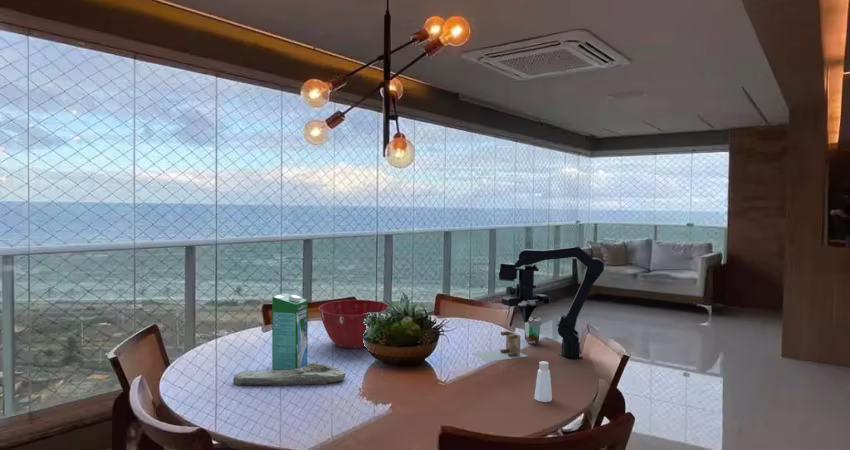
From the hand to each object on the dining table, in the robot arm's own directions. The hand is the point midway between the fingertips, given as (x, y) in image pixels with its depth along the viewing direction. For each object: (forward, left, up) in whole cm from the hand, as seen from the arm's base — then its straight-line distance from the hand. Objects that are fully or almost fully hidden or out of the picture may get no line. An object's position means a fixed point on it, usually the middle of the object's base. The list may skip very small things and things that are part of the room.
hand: (525, 322), depth 206 cm
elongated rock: (+2, +89, -13) cm, 90 cm away
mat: (0, +11, -12) cm, 16 cm away
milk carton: (+18, +86, -12) cm, 89 cm away
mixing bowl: (+37, +57, -12) cm, 69 cm away
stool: (0, +7, -12) cm, 14 cm away
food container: (+12, -13, -12) cm, 21 cm away
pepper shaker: (-42, +23, -12) cm, 49 cm away
